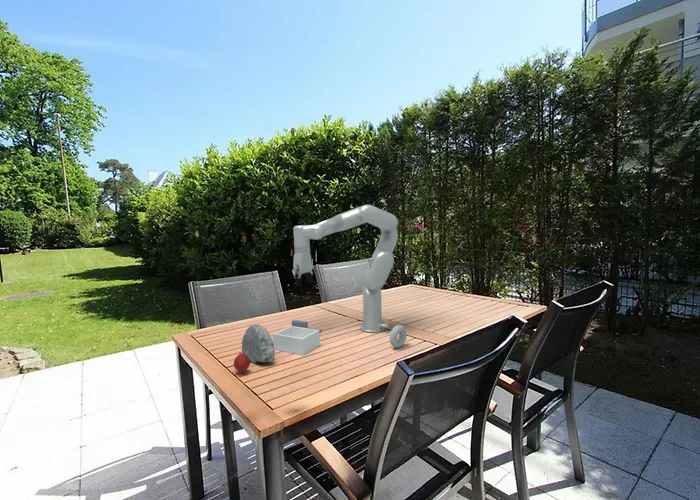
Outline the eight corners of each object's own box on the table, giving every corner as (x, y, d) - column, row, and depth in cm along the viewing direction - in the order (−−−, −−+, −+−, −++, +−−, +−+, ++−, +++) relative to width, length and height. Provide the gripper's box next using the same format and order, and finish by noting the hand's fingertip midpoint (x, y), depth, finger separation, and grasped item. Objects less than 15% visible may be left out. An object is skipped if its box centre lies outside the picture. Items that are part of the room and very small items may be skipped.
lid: (321, 332, 176) (320, 319, 176) (305, 341, 164) (305, 327, 164) (294, 328, 184) (294, 316, 183) (278, 336, 172) (277, 323, 171)
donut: (394, 351, 148) (393, 328, 147) (387, 349, 151) (387, 327, 150) (408, 345, 155) (408, 323, 154) (402, 343, 157) (402, 322, 157)
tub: (319, 345, 157) (319, 330, 157) (303, 355, 146) (302, 339, 145) (291, 340, 165) (291, 325, 164) (273, 349, 153) (272, 333, 153)
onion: (236, 369, 133) (235, 349, 132) (251, 368, 133) (250, 348, 133) (232, 376, 127) (231, 355, 126) (248, 375, 128) (247, 354, 127)
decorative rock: (240, 358, 144) (238, 323, 142) (254, 353, 149) (252, 319, 147) (263, 368, 133) (262, 330, 132) (277, 363, 138) (276, 326, 137)
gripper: (306, 248, 181) (307, 281, 183) (285, 252, 166) (287, 287, 167) (318, 248, 178) (319, 281, 179) (298, 252, 162) (300, 288, 164)
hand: (304, 284), depth 173 cm, fingers open, 9 cm apart
